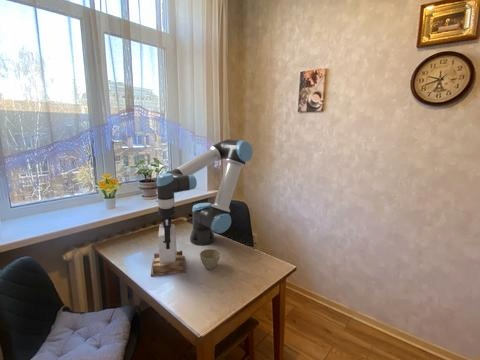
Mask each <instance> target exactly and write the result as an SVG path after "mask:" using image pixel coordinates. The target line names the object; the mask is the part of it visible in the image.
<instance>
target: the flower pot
mask: <svg viewBox="0 0 480 360" xmlns="http://www.w3.org/2000/svg"><path fill="white" fill-rule="evenodd" d="M199 257H200V258H199V259H200V261H201V263H202V265H203V267H204V269H206V270H213V269H214V268H216V266H217V264H218V263H219V260H220V257H221V252H220V251H219V250H217V249H215V248H206V249H203V250H201V251H200V253H199Z"/></svg>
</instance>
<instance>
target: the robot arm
mask: <svg viewBox="0 0 480 360" xmlns="http://www.w3.org/2000/svg"><path fill="white" fill-rule="evenodd" d="M252 157H253V147H252V145H251V144H250V142H249V141H247V140H243V139H230V138H229V139H225V140H222V141H220V142H218V143H217V142H216V143H215V144H214V145H212V146H210V147H209V149H208V150H206V151H204V152H202V153H201V154H199V155H197V156H196V157H194V158H192V159H190V160H189V161H187V162H185V163H183V164H181V165H179V166H178V167H176V168H174V169H172V170H166V171H164V172H162V173H160V174H157V175H156V184H155V185H156V191H157V193H156V194H157V200H156V203H157V206H158V207H157V211H158V216H159V217H162V225H163V227H164V234H165V241H163V243H165V255H171V240H170V228H171V224H172V216H174V215H175V213H176V211H175V210H176V209H175V208H176V207H175V204H176V202H175V194H176V193H181V192H187V191H191V190H194V189H195V188H197V184H198V183H197V181H198V180H197V178H196V176H195V175H194V174H196V173H197V172H200V171H201V170H203V169H204V168H205V169H206V167H208V166H209V165H211V164H213V163H215V162H219V161H221V160H225V162H226V166H225V168H224V171H223V175H222V178H221V181H220V184H219V187H218V190H217V193H216V196H215V200H214V202H213V203H211V202H199V203H195V204H194V205H193V206H192V211H191V212H192V229H191V230H192V231H191V233H190V236H189V241H190V243H191V244H193V245H197V246H207V245H210V244H212V243H214V241H216V240H215V239H216V237H215V234H216V233H217V234H223V233H225V232H226V231H227V230H229V228H230V227H231V224H232V217H231V215H230V213H231V210H230V205H231V201H232V198H233V195H234V192H235V190H236V189H235V188H236V185H237V182H238V181H239V180H238V179H239V176H240V173H241V169H242V168H243V167H245V166H246V163H247V162H249V161H251V159H252Z"/></svg>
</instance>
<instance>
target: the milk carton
mask: <svg viewBox="0 0 480 360" xmlns="http://www.w3.org/2000/svg"><path fill="white" fill-rule="evenodd" d="M158 228H159V229H158V235H157V236H158V253H159V260H160V264H169V263H175V261H176V257H177V251H178V250H177V229H176V226H175V224H172V223H171V228H170V240H171V255H165V243H163V241H165V234H164V227H163V224H159V226H158Z"/></svg>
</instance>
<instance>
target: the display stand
mask: <svg viewBox="0 0 480 360" xmlns="http://www.w3.org/2000/svg"><path fill="white" fill-rule="evenodd" d="M176 251H177V257H176V261H175V263H169V264H160V260H159V252H155V253H154V255H153V257H154V258H153V259H152V260H151V267H150V268H151V271H150V277H157V276H163V275H164V276H166V275H172V274H173V275H174V274H181V273H186V272H187V267H186V259H185V255H184V254H183V250H176Z"/></svg>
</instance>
